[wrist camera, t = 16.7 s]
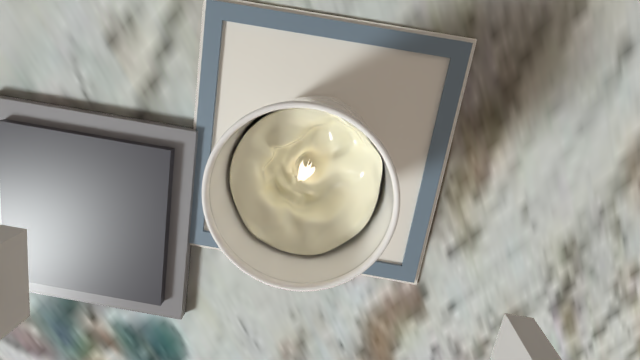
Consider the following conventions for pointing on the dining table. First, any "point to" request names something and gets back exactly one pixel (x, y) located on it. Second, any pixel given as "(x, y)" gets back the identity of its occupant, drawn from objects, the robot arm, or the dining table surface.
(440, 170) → the marked square
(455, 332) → the dining table surface
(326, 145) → the candle holder
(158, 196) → the ink pad
